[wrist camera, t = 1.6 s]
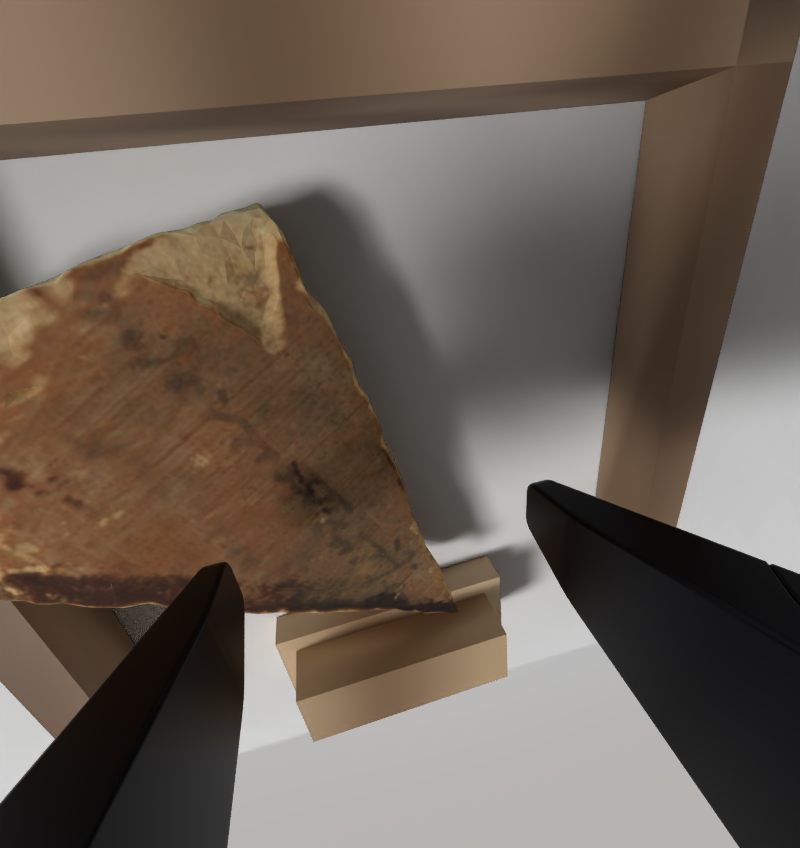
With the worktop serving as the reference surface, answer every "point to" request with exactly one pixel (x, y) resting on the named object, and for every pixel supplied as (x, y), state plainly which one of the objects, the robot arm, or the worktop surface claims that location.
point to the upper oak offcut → (398, 666)
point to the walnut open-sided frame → (421, 101)
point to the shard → (196, 436)
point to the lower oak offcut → (379, 612)
